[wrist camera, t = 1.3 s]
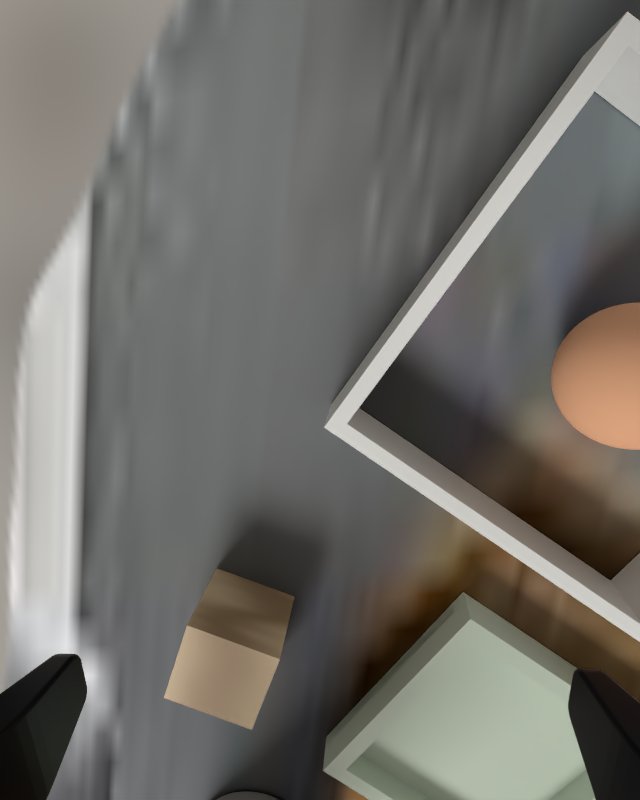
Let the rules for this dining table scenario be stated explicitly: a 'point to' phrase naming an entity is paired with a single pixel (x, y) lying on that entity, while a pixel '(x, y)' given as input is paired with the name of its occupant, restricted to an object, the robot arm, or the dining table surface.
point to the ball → (602, 376)
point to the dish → (464, 719)
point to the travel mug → (247, 796)
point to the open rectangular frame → (596, 71)
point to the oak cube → (231, 649)
